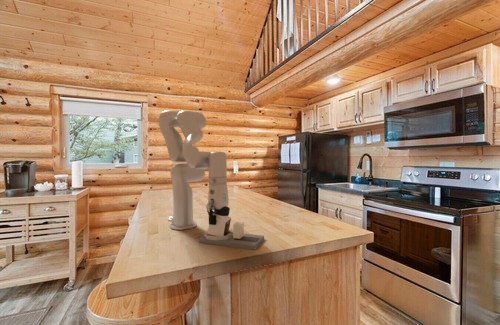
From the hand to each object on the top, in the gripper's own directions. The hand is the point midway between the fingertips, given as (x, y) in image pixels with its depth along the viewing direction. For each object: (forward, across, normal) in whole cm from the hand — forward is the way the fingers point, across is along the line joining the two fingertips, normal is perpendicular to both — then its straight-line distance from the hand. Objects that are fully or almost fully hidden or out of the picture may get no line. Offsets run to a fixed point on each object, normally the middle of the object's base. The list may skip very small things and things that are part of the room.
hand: (218, 221), depth 100 cm
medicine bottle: (+5, 0, 0) cm, 5 cm away
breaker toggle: (+5, 0, -9) cm, 11 cm away
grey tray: (+7, 0, -6) cm, 10 cm away
